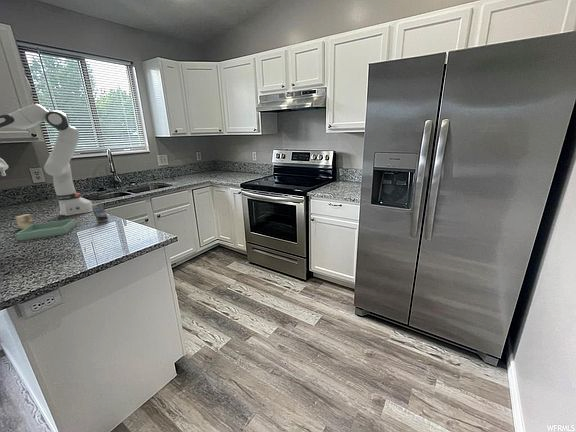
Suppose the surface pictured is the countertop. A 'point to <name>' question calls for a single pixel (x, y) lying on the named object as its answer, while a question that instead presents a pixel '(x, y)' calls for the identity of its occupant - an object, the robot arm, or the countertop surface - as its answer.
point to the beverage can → (99, 212)
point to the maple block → (24, 221)
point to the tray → (46, 229)
